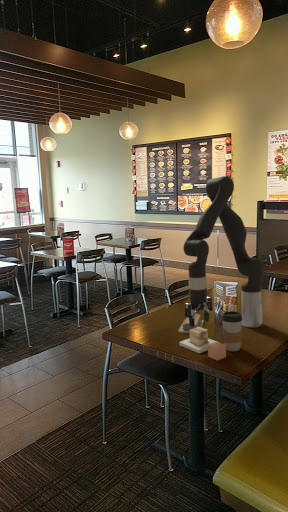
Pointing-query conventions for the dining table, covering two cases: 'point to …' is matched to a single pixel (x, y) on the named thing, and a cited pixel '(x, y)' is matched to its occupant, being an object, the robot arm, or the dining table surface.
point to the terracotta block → (217, 351)
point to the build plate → (195, 347)
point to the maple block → (198, 335)
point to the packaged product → (186, 327)
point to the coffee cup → (232, 330)
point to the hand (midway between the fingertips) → (199, 323)
